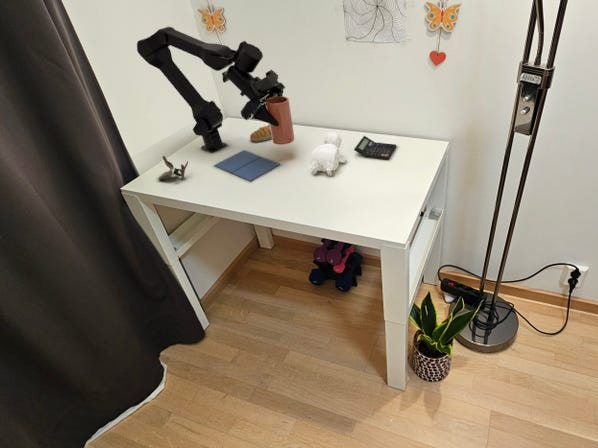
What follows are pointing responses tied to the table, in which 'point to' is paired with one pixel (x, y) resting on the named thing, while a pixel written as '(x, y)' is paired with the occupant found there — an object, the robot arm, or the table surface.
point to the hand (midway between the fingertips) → (284, 120)
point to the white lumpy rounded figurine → (327, 154)
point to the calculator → (374, 149)
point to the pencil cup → (280, 120)
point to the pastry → (261, 134)
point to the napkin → (247, 165)
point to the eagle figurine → (172, 170)
